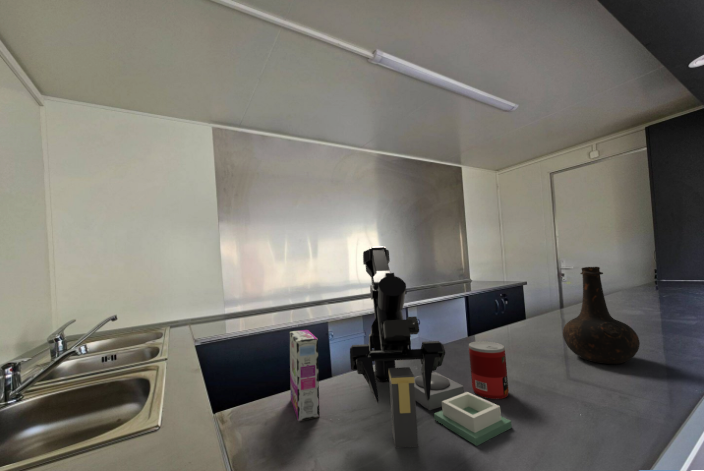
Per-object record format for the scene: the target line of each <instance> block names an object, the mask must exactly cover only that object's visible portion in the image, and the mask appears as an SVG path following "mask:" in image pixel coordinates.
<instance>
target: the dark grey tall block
mask: <svg viewBox="0 0 704 471" xmlns="http://www.w3.org/2000/svg"><path fill="white" fill-rule="evenodd" d="M411 369H412V368H410V367H409V366H407V367H406V366H404V367H395V368H389V370H388V371H389V380H388V382H389V384H388V385H389V397H390V398H389V401H390V415H391V418H390V419H391V432H392V433H391V434H392V438H393V439H394V440H393V443H394V447H395V449H401V448H404V449H405V448H418V447H419V439H418V421H417V407H416V406H417V405H416V404H417V401H416V400H415V387H414V383H415V381H414V377H415V375H414V373H413V371H412V370H411Z"/></svg>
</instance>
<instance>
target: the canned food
mask: <svg viewBox="0 0 704 471" xmlns="http://www.w3.org/2000/svg"><path fill="white" fill-rule="evenodd" d="M468 352H469V354H468V356H469V364H470V366H469V367H470V376H471V377H470V378H471V387H472V390H473V392H474V393H475V394H476V395H477V394H478V395H477V396H479V395H480V396H479V397H481V398H485V397H486V398H485V399H489V398H490V399H491V400H502V399H505V398H506V397H508V396H509V381H508V371H507V370H508V368H507V358H506V350H505V346H504V345H503V344H501V343H497V342H494V341H485V340H484V341H483V340H481V341H479V340H478V341H472V342H470V343H468Z"/></svg>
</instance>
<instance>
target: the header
mask: <svg viewBox="0 0 704 471" xmlns="http://www.w3.org/2000/svg"><path fill="white" fill-rule="evenodd" d="M441 408H442V410H439V411H437V412H435V413H433V420H434V419H435V420H436V421H435V420H434V421H435V422H437V421H438V422H437V423H438V424H440V423H441V425H442V424H443V425H442V426H444V427H446V428H447V429H448V430H450V431H452V432H453V433H455V434H457V435H458V436H460V437H462V438H463V439H465V440H466V441H469V442H470V444H473V445H475V446H476V447H477V446H480V445H481V444H484V443H485V442H487V441H489V440H491V439H493V438H495V437H497V436H498V435H500V434H503V433H504V432H506V431H508V430H510V429H511V428H512V427H513V426H512V424H513V423H512V420H510V419H507V418H506V417H504V416H502V413H501V406H500V405H499V404H495V403H494V402H491V401H489V400H487V399H486V398H485V399H484V398H483V397H481V396H479V395H477V394H476V395H475V394H473V393H471V392H468V391H464V393H463V394H460V395H458V396H455V397H452V398H450V399H447V400H444V401H442V407H441Z"/></svg>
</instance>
